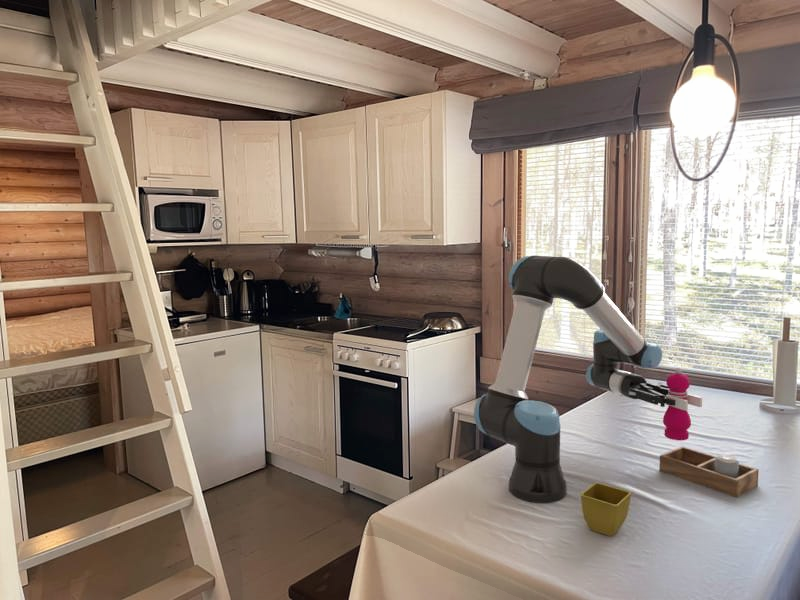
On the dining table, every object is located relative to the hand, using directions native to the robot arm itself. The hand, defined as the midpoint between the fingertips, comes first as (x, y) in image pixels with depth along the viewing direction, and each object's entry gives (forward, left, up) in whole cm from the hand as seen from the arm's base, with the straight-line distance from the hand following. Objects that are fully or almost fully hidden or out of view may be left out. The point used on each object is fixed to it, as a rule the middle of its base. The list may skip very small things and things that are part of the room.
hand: (693, 404), depth 164 cm
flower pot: (-43, -4, -21) cm, 48 cm away
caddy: (0, -4, -21) cm, 21 cm away
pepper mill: (+1, +5, -11) cm, 12 cm away
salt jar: (0, -9, -20) cm, 22 cm away
